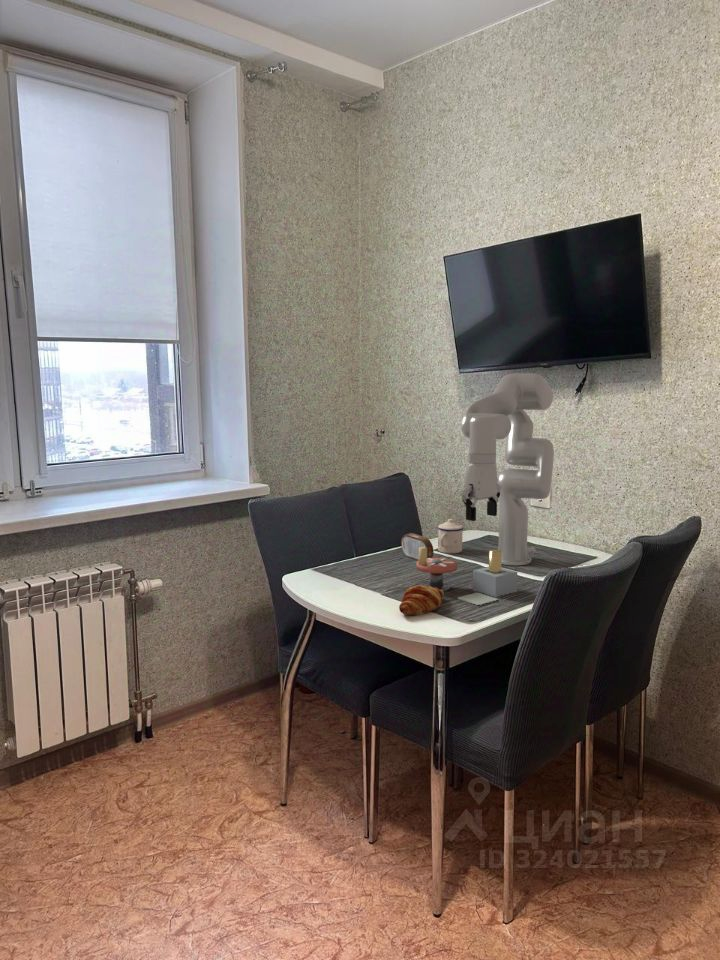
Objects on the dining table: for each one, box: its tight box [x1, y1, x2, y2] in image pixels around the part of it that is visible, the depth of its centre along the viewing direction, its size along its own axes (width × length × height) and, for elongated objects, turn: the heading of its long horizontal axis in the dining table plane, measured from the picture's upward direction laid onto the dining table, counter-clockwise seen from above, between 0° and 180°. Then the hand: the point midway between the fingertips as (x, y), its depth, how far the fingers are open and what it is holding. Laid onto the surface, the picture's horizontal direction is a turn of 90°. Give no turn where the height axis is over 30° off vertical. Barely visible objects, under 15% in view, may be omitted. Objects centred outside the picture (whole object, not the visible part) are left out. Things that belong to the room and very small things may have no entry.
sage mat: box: [457, 592, 499, 606], centre depth 199 cm, size 8×8×1 cm
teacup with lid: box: [437, 518, 464, 554], centre depth 254 cm, size 12×9×12 cm
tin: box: [400, 532, 435, 561], centre depth 244 cm, size 15×3×8 cm, turn 35°
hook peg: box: [488, 549, 503, 574], centre depth 207 cm, size 4×4×12 cm
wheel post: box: [422, 573, 451, 593], centre depth 210 cm, size 8×8×6 cm
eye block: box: [472, 566, 518, 598], centre depth 207 cm, size 9×9×6 cm
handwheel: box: [415, 547, 458, 574], centre depth 209 cm, size 12×12×6 cm
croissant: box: [398, 585, 444, 616], centre depth 192 cm, size 21×10×8 cm, turn 146°
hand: (481, 517), depth 205 cm, fingers open, 9 cm apart
